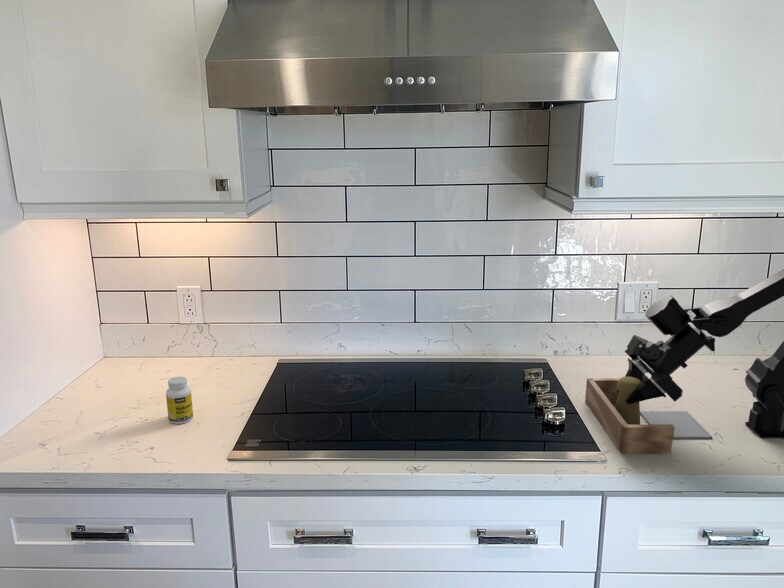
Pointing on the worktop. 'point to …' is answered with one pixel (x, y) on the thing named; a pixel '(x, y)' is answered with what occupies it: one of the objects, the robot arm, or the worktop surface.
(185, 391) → the supplement bottle
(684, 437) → the grey mat
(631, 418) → the olive game pawn
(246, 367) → the worktop surface
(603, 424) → the walnut u-shaped bracket
